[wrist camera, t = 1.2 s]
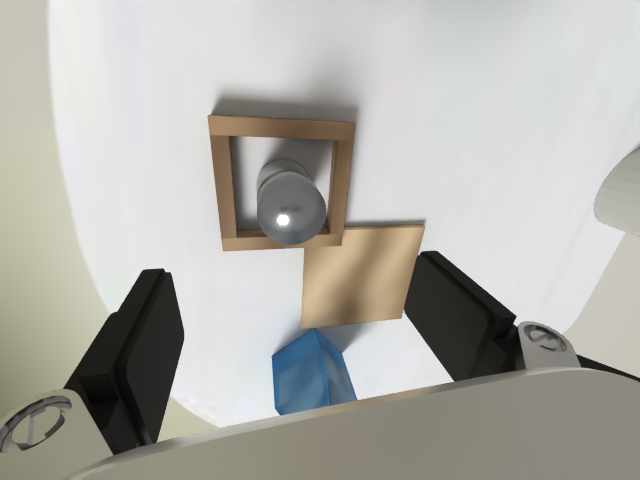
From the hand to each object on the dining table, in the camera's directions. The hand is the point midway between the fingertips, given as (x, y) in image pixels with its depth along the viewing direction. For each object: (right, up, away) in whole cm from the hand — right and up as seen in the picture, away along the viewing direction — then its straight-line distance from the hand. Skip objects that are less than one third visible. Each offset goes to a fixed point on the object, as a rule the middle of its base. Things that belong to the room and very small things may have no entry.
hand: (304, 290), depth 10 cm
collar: (-3, +7, +12) cm, 14 cm away
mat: (+5, -2, +19) cm, 19 cm away
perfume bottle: (-1, -12, +23) cm, 26 cm away
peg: (-3, +7, +13) cm, 14 cm away
